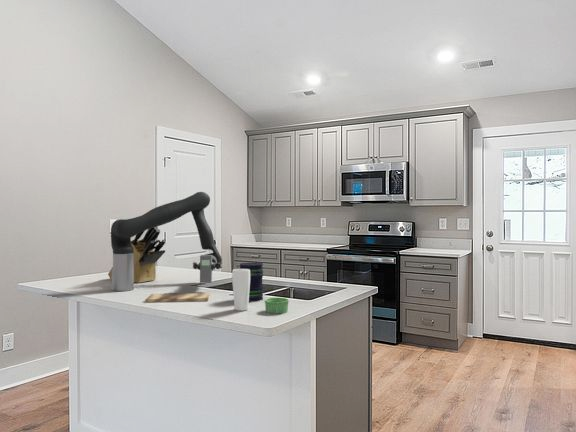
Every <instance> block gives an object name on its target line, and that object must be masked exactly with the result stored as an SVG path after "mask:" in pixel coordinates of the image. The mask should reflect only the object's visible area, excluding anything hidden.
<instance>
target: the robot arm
mask: <svg viewBox="0 0 576 432" xmlns="http://www.w3.org/2000/svg"><path fill="white" fill-rule="evenodd" d="M210 202H211V198H210V195H209V194H208V193H207V192H204V191H197V192H195V193H193V194H192V195H189V196H187V197H186V198H182V199H180V200H176V201H171V202H168V203H165V204H161V205H158V206H156V207H154V208H152V209H150V210H148V211H147V212H146V213H144V214H142V215H139V216H136V217H135V216H134V217H133V218H125V219H124V218H123V219H122V218H121V219H116V220H115V221H114V222H113V223H112V224H111V227H110V244H111V249H112V267H113V270H112V279H111V291H112V292H113V291H115V292H125V291H133V290H134V287H135V285H134V284H135V282H134V249H133V246H132V244H131V241H132V238H133V237H136V235H137V234H139V233H141V232H143V231H144V232H145V231H148V229H151V228H154V227H160V226H163V225H166V224H168V223H171V222H173V221H175V220H177V219H179V218H181V217H183V216H184V215H187V214H189V213H191V215H192V218H193V220H194V223H195V226H196V229H197V233H198V237H199V242H200V247H201V249H202V250H205V251H206V250H207V251H208V250H210V251H212V252H210V253H207V254H205V255H212V265H211V270H212V272H213V271H214V270H215V269H217V270H221V268H223V260H222V256H221V254H220V252H219V250H218V249H217V248H218V247H217V246H216V243H215V239H214V236H213V231H212V229H211V227H210V225H209V223H208V222H207V220H206V216H205V209H206V208H207V207H208V206H209V205H210ZM192 269H194V270H199V271H200V262H198V263H197V262H195V261H194V262H192Z"/></svg>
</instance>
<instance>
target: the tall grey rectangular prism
mask: <svg viewBox="0 0 576 432" xmlns="http://www.w3.org/2000/svg"><path fill="white" fill-rule="evenodd" d="M199 263H200V270H199V283H200V284H202V283H204V284H207V283H212V282H213V271H212V270H211V265H212V255H206V254H200V255H199Z"/></svg>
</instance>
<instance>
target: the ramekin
mask: <svg viewBox="0 0 576 432" xmlns="http://www.w3.org/2000/svg"><path fill="white" fill-rule="evenodd" d="M289 302H290V300H289V299H288V298H285V297H269V298H265V299H264V303H265V304H264V305H265V312H266V313H268V312H269V313H268V314H273V313H280V314H284V312H285V313H287V312H288V309H289Z"/></svg>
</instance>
